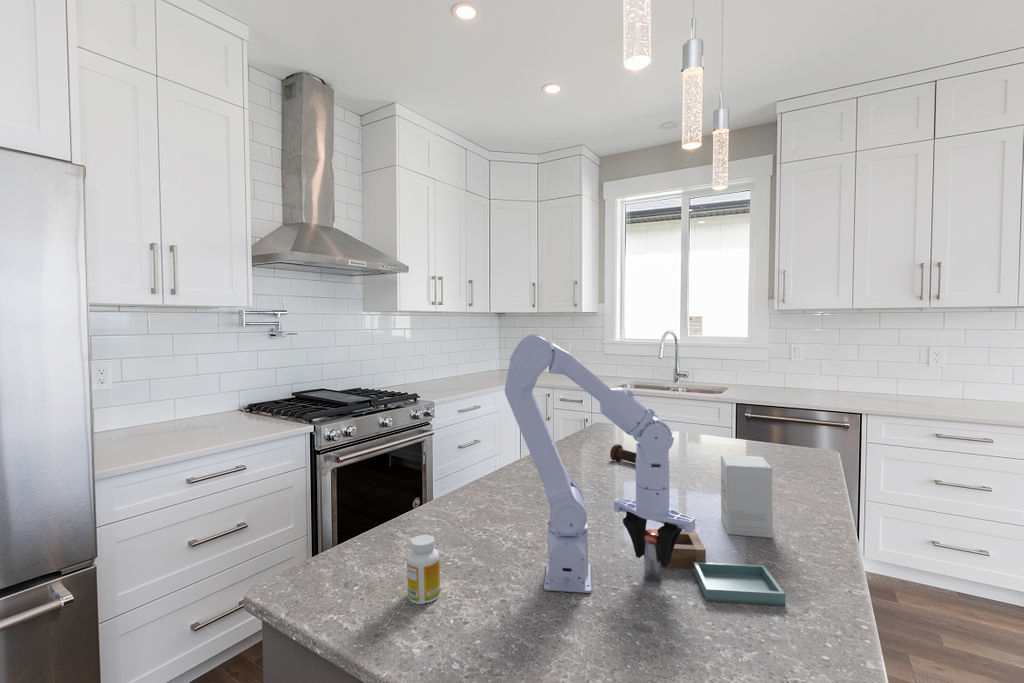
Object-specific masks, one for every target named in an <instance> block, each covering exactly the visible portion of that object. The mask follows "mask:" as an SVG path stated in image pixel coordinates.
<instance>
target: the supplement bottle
mask: <svg viewBox="0 0 1024 683" xmlns="http://www.w3.org/2000/svg"><path fill="white" fill-rule="evenodd" d="M435 541H436V540H435V537H434V536H432V535H430V534H420V535H417V536H414V537H412V538H411V540H410V550H411V551H409V552H408V554H407V557H406V570H407V571H406V572H407V573H406V574H407V576H406V577H407V597H408V600H409V601H410V602H411V603H413V604H415V603H416V604H415V605H426V604H425V603H427V604H430V603H432V601H433V602H435V601H436V600H437V599H439V597H440V594H441V571H440V569H441V568H440V553H439V551H438V550H437V549H436V547H435V546H436V542H435ZM434 600H435V601H434ZM429 602H430V603H429Z"/></svg>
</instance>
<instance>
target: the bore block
mask: <svg viewBox="0 0 1024 683" xmlns="http://www.w3.org/2000/svg"><path fill="white" fill-rule="evenodd" d="M658 529H659V528H657V529H656V528H654V529H653V530H657V531H658ZM706 552H707V551H706V547H705V546H704V544H703V543H702V540H701V538H700V537H699V535H698V533H697V532H696V530H694V531H693V532H691V533H688V532H685V530H684V529H682V531H681V533H680V535H679V537H678V538H677V541H676V543H675V546H674V548H673V552H672V556H671V560H670V564H669V565H667V566H666V567H665V568H676V569H677V568H678V569H679V568H680V569H693V562H707V561H706V559H707V558H706V557H707V556H706V555H707V553H706ZM662 568H664V567H663V566H662Z"/></svg>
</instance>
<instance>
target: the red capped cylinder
mask: <svg viewBox="0 0 1024 683" xmlns="http://www.w3.org/2000/svg"><path fill="white" fill-rule="evenodd" d="M643 540H644V555H643V564H644V565H643V572H644V573H643V577H644V579H645V580H646V581H648V582H650V583H659V582H661V581H662V579H663V576H662V572H663V570H662V569H663V567H662V566H661V546H660V540H659V535H658V531H657V530H654V529H646V530H645V531H643Z"/></svg>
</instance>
